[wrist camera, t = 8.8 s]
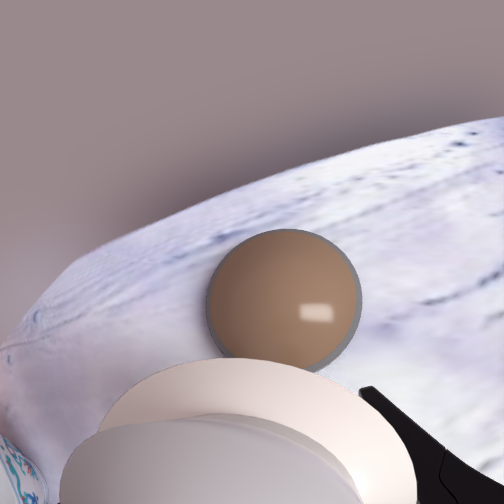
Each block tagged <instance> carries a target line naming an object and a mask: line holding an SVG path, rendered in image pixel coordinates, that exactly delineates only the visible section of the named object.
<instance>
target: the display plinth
mask: <svg viewBox="0 0 504 504" xmlns="http://www.w3.org/2000/svg"><path fill="white" fill-rule="evenodd" d="M361 311H362V291H361V285H360V281H359V278H358V275H357V273H356V271H355V268H354V267H353V265H352V263H351V262H350V260H349V259H348V258H347V256H346V255H345V254H344V253H343V252H342V251H341V250H340V249H339V248H338V247H337V246H336V245H334V244H333V243H332V242H330V241H329V240H327V239H325V238H323V237H322V236H319V235H317V234H314V233H311V232H308V231H304V230H297V229H278V230H272V231H267V232H264V233H261V234H257V235H255V236H253V237H251V238H249V239H247V240H245V241H244V242H242V243H240V244H239V245H238V246H236V247H235V248H234V249H233V250H232V251H231V252H230V253H228V254H227V255H226V257H225V258H224V259H223V260H222V261H221V263H220V264H219V266H218V267H217V269H216V270H215V272H214V274H213V277H212V279H211V281H210V284H209V287H208V291H207V296H206V318H207V323H208V327H209V330H210V333H211V335H212V337H213V339H214V341H215V343H216V345H217V346H218V348H219V349H220V350H221V352H222V353H223V354H224V355H225V356H226V357H227V358H246V359H255V360H265V361H271V362H275V363H280V364H285V365H290V366H294V367H297V368H300V369H303V370H306V371H309V372H312V373H315V372H317V371H319V370H321V369H323V368H324V367H326V366H327V365H329V364H330V363H331V362H333V361H334V360H335V359H336V358H337V357H338V356H339V355H340V354H341V353H342V352H343V350H344V349H345V348H346V347H347V345H348V344H349V342H350V341H351V339H352V338H353V336H354V334H355V331H356V329H357V327H358V324H359V320H360V317H361Z"/></svg>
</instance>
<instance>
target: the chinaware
mask: <svg viewBox="0 0 504 504" xmlns="http://www.w3.org/2000/svg"><path fill="white" fill-rule="evenodd" d="M48 500H49V492H48V488H47V485H46V482H45V480H44V477H43V475H42V474H41V472H40V470H39V469H38V467H37V466H36V465H35V464H34V463H33V462H32V461H31V460H30V459H28V458H26V457H25V456H24V455H23V454H22V453H21V452H20V450H19V449H18V448H17V447H16V446H15V445H14V444H12V443H11V442H10V441H9V440H8V439H7V438H5V437H4V436H3V435H1V434H0V504H47V503H48Z"/></svg>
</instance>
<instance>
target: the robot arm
mask: <svg viewBox="0 0 504 504" xmlns="http://www.w3.org/2000/svg"><path fill="white" fill-rule="evenodd" d="M359 397H361V398H362V399H363V400H364V401H366V402H367V403H368V404H369V405H371V406H372V407H373V408H374V409H376V410H377V411H378V412H379V413H380V414H381V415H382V416H383V417H384V418H385V419H386V421H387V422H388V423H389V424H390V425H391V426H392V427H393V428H394V430H395V431H396V433H397V434H398V436H399V437H400V439H401V440H402V442H403V443H404V445H405V447H406V449H407V452H408V454H409V456H410V458H411V461H412V463H413V468H414V472H415V477H416V483H417V502H416V504H504V486H503V485H502V484H500V483H498V482H496V481H494V480H492V479H490V478H489V477H487V476H485V475H483V474H482V473H480V472H478V471H477V470H475V469H473V468H472V467H470V466H468V465H467V464H466V463H464V462H463V461H462V460H460V459H459V458H458V457H456V456H455V455H454V454H453V453H451V452H450V451H449V450H448V449H446V448H445V447H444V446H443V445H442V444H440V443H439V442H438V441H437V440H436V439H434V438H433V437H432V436H431V435H430V434H428V433H427V432H426V431H425V430H424V429H422V428H421V427H420V426H419V425H418V424H416V423H415V422H414V421H413V420H412V419H411V418H409V417H408V416H407V415H406V414H405V413H403V412H402V411H401V410H400V409H399V408H398V407H396V406H395V405H394V404H393V403H392V402H391V401H389V400H388V399H387V398H386V397H385V396H384V395H383V394H381V393H380V392H379V391H378V390H377V389H376V388H374V387H373V386H368V387H364V388H361V389H359ZM445 449H446V450H445ZM58 504H60V503H58Z"/></svg>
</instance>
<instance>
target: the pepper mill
mask: <svg viewBox="0 0 504 504" xmlns="http://www.w3.org/2000/svg"><path fill="white" fill-rule="evenodd" d="M59 497H60V504H416V502H417V483H416V477H415V472H414V468H413V463H412V461H411V458H410V456H409V454H408V452H407V449H406V447H405V445H404V443H403V442H402V440H401V439H400V437H399V436H398V434H397V433H396V431H395V430H394V428H393V427H392V426H391V425H390V424H389V423H388V422H387V421H386V419H385V418H384V417H383V416H382V415H381V414H380V413H379V412H378V411H377V410H376V409H374V408H373V407H372V406H371V405H369V404H368V403H367V402H366V401H364V400H363V399H362V398H361V397H359V396H358V395H356V394H354V393H353V392H351V391H349V390H348V389H346V388H344V387H343V386H341V385H339V384H337V383H335V382H333V381H331V380H328V379H326V378H324V377H322V376H320V375H318V374H315V373H312V372H309V371H306V370H303V369H300V368H297V367H294V366H290V365H285V364H280V363H275V362H271V361H265V360H255V359H246V358H216V359H207V360H198V361H193V362H189V363H185V364H180V365H176V366H173V367H171V368H168V369H165V370H162V371H160V372H157V373H155V374H153V375H151V376H150V377H148V378H146V379H144V380H142V381H140V382H139V383H138V384H136V385H135V386H133V387H132V388H131V389H129V390H128V391H127V392H126V393H125V394H124V395H123V396H122V397H121V398H120V399H119V400H117V401H116V402H115V404H114V405H113V406H112V408H111V409H110V410H109V412H108V413H107V414H106V416H105V417H104V419H103V421H102V423H101V425H100V427H99V429H98V431H97V433H96V434H95V435H93V436H92V437H90V438H88V439H87V440H85V441H84V442H83V443H82V444H81V445H80V446H79V447H77V448H76V449H75V451H74V452H73V453H72V455H71V456H70V458H69V459H68V461H67V463H66V465H65V467H64V470H63V473H62V477H61V481H60V492H59Z"/></svg>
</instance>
